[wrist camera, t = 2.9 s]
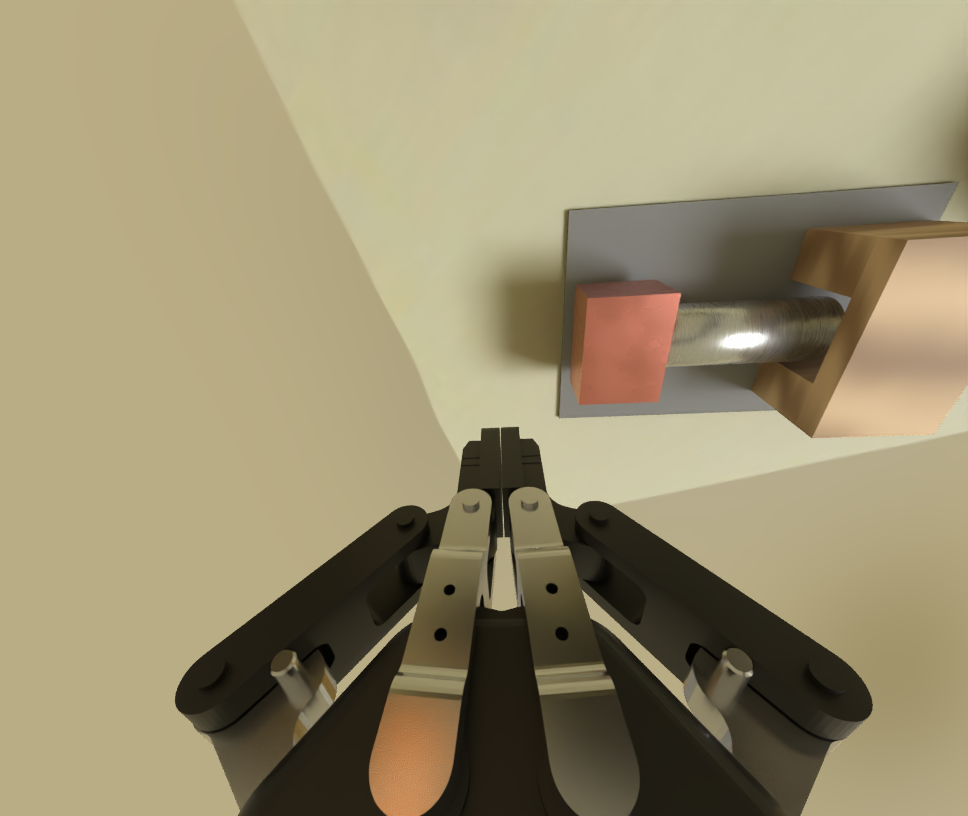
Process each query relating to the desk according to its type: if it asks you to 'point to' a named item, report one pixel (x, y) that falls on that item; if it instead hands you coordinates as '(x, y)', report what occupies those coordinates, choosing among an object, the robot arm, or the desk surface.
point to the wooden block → (880, 331)
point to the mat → (717, 270)
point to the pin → (683, 336)
